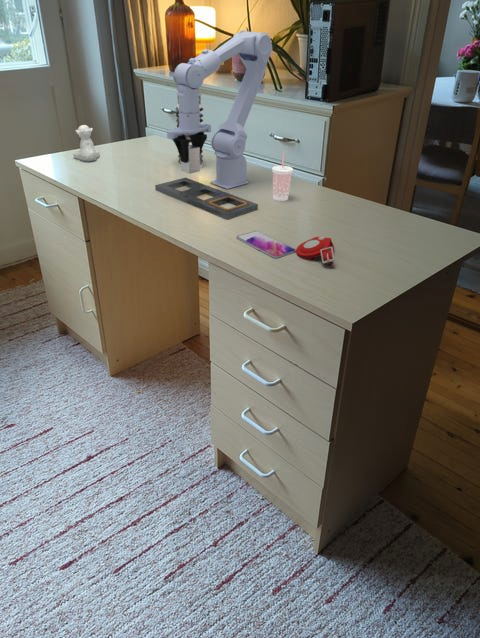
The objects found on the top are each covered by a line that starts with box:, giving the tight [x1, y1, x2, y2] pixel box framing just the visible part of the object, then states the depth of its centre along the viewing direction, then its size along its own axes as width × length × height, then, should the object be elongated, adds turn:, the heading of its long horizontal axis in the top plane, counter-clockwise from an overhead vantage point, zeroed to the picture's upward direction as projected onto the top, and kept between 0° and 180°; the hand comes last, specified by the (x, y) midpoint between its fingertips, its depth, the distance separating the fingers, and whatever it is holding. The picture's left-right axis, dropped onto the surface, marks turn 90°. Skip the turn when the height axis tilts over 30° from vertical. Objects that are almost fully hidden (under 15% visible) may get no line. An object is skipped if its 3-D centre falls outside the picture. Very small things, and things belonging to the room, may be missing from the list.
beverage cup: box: [271, 150, 294, 202], centre depth 152 cm, size 6×6×14 cm
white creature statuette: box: [72, 124, 101, 163], centre depth 182 cm, size 10×9×12 cm
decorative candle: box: [175, 91, 204, 168], centre depth 175 cm, size 9×9×25 cm
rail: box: [154, 177, 259, 220], centre depth 153 cm, size 12×32×2 cm, turn 45°
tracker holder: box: [295, 236, 336, 266], centre depth 122 cm, size 12×4×10 cm
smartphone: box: [235, 230, 297, 260], centre depth 127 cm, size 7×1×15 cm
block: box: [180, 144, 201, 175], centre depth 151 cm, size 4×4×7 cm
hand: (190, 160), depth 151 cm, fingers closed on block, 4 cm apart
